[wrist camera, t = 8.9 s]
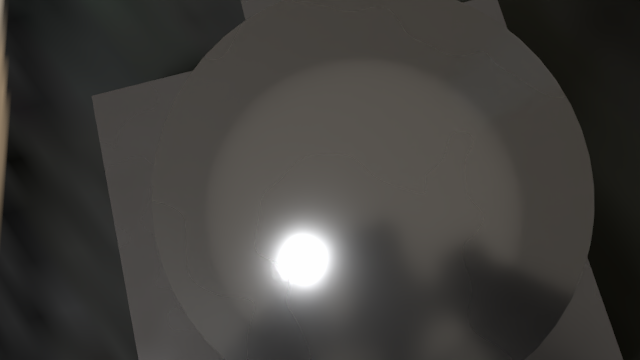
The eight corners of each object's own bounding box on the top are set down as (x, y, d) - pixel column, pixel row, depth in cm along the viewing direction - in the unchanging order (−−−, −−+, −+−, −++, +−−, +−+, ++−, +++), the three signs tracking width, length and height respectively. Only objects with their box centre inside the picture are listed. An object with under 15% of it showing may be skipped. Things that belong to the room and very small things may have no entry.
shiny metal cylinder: (460, 273, 17) (690, 228, 6) (330, 372, 16) (324, 522, 5) (362, 148, 18) (407, -90, 7) (236, 239, 17) (69, 138, 6)
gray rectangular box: (599, 403, 16) (645, 423, 14) (198, 509, 16) (172, 548, 14) (372, -274, 21) (376, -347, 19) (64, -199, 21) (27, -263, 19)
